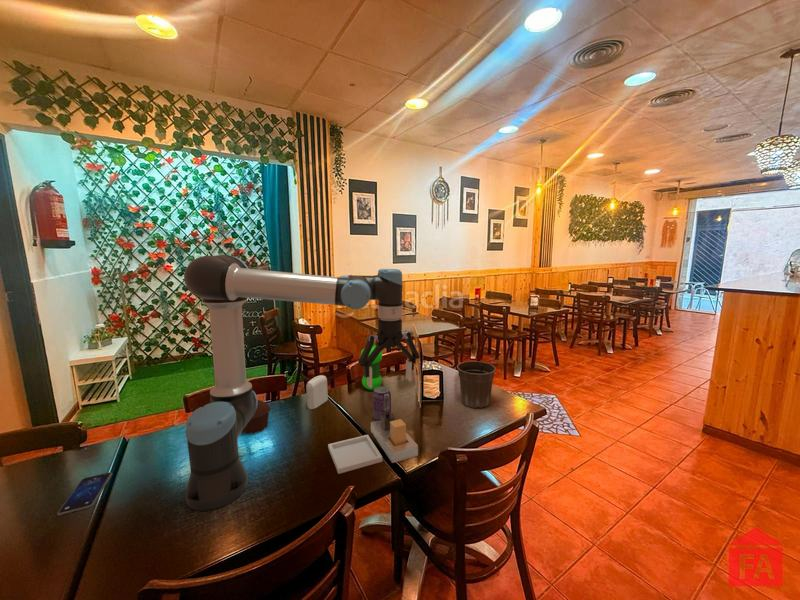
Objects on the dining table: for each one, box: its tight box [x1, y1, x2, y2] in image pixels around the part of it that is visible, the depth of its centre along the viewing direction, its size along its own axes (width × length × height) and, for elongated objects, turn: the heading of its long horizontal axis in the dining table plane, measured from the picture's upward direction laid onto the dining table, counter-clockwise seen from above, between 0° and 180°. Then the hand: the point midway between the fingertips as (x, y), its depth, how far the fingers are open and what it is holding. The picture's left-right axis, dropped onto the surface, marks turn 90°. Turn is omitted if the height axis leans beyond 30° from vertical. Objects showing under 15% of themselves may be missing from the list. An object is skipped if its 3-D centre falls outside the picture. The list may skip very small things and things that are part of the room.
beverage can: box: [372, 385, 392, 421], centre depth 130 cm, size 7×7×12 cm
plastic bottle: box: [360, 337, 383, 391], centre depth 158 cm, size 10×10×25 cm
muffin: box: [242, 399, 271, 434], centre depth 124 cm, size 12×11×10 cm
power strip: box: [370, 409, 419, 464], centre depth 113 cm, size 9×20×10 cm, turn 24°
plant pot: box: [456, 360, 497, 409], centre depth 143 cm, size 16×16×16 cm
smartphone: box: [56, 471, 113, 517], centre depth 91 cm, size 7×1×15 cm
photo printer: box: [305, 374, 329, 410], centre depth 142 cm, size 10×4×12 cm, turn 152°
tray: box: [327, 434, 383, 475], centre depth 107 cm, size 14×14×2 cm
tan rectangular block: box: [390, 418, 407, 446], centre depth 109 cm, size 4×4×10 cm
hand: (389, 383), depth 107 cm, fingers open, 13 cm apart
